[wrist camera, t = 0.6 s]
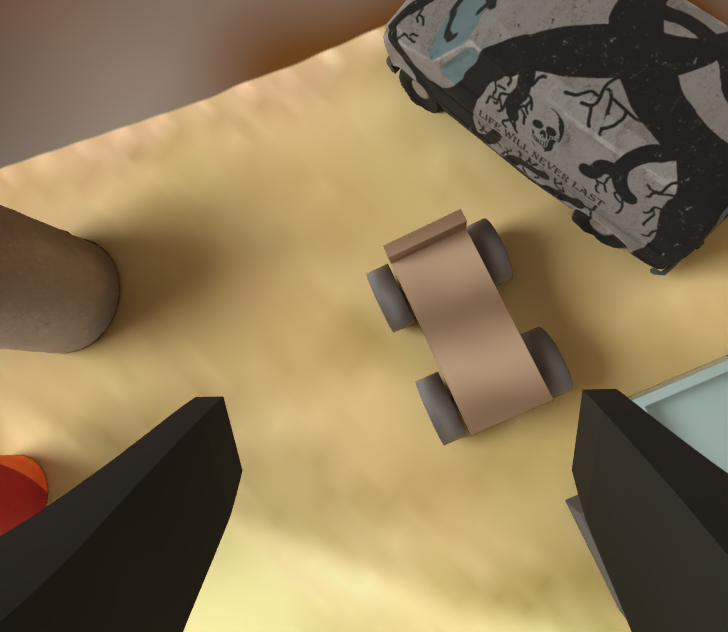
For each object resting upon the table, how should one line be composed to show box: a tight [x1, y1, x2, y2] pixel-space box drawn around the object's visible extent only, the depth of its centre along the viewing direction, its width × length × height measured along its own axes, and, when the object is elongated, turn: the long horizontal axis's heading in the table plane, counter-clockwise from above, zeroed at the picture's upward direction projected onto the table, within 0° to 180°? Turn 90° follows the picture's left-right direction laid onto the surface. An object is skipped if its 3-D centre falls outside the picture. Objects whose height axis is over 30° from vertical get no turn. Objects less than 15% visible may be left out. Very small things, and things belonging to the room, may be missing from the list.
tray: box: [628, 355, 728, 473], centre depth 30 cm, size 9×9×2 cm
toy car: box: [383, 0, 728, 275], centre depth 32 cm, size 11×25×10 cm, turn 46°
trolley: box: [366, 209, 573, 445], centre depth 32 cm, size 12×9×7 cm
